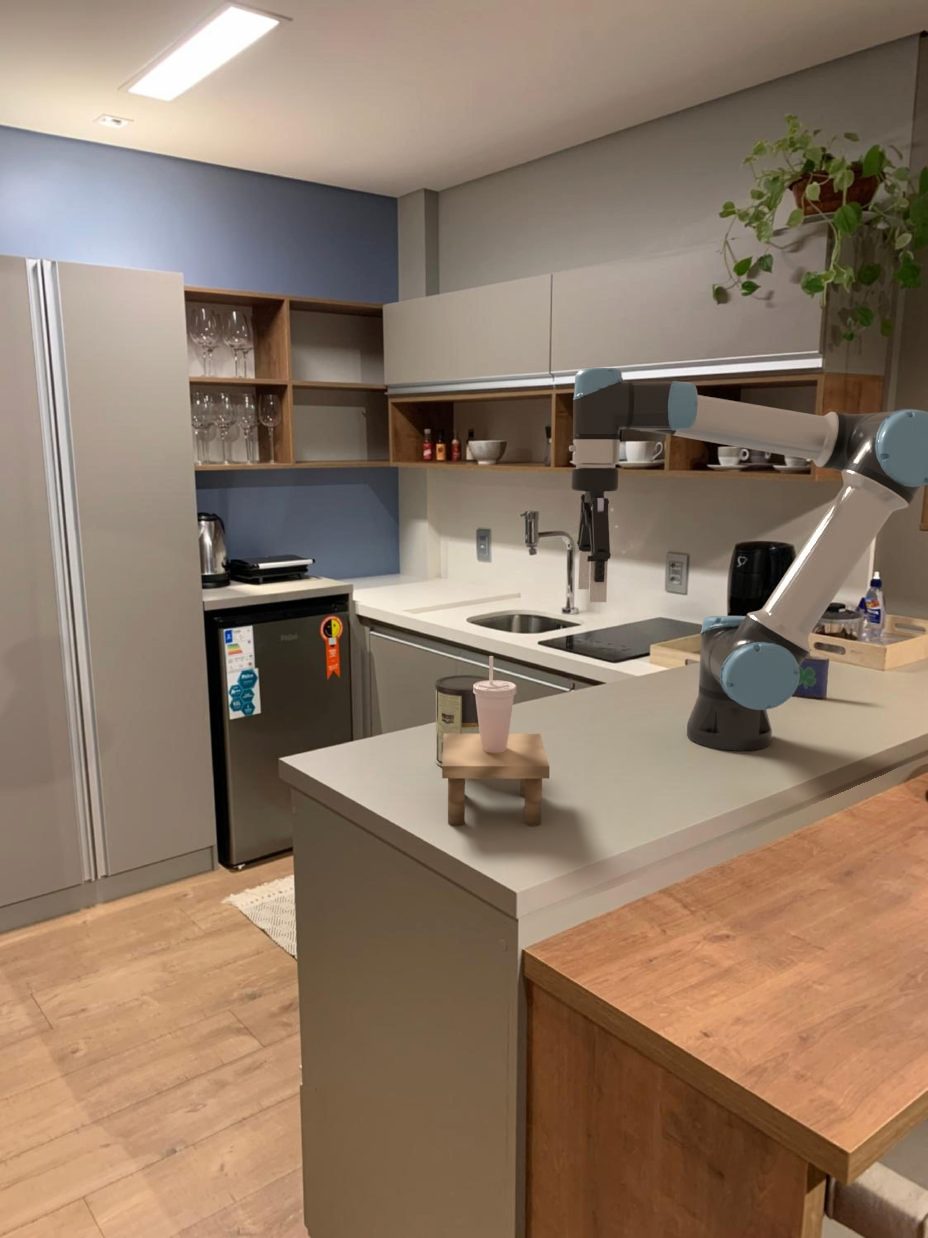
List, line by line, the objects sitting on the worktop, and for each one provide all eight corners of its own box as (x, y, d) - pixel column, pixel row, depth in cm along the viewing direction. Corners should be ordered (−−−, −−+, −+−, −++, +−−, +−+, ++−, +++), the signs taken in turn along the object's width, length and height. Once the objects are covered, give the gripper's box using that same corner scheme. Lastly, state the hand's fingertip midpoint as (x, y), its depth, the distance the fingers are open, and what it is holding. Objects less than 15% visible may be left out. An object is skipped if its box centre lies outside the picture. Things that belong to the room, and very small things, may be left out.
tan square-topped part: (538, 790, 147) (540, 733, 146) (548, 828, 132) (549, 766, 131) (443, 789, 147) (443, 733, 145) (442, 828, 132) (442, 766, 131)
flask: (827, 697, 202) (830, 649, 200) (825, 700, 200) (828, 651, 198) (782, 692, 207) (785, 644, 205) (780, 695, 204) (783, 647, 202)
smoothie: (470, 742, 141) (471, 651, 138) (512, 741, 142) (514, 651, 139) (474, 756, 135) (475, 661, 132) (518, 755, 135) (520, 661, 133)
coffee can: (499, 754, 164) (500, 676, 162) (489, 773, 154) (490, 691, 152) (442, 750, 166) (442, 673, 164) (428, 769, 156) (428, 687, 154)
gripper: (563, 464, 165) (560, 584, 169) (582, 468, 140) (578, 607, 144) (606, 464, 165) (602, 584, 169) (632, 468, 140) (627, 607, 144)
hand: (591, 595), depth 156 cm, fingers open, 13 cm apart
